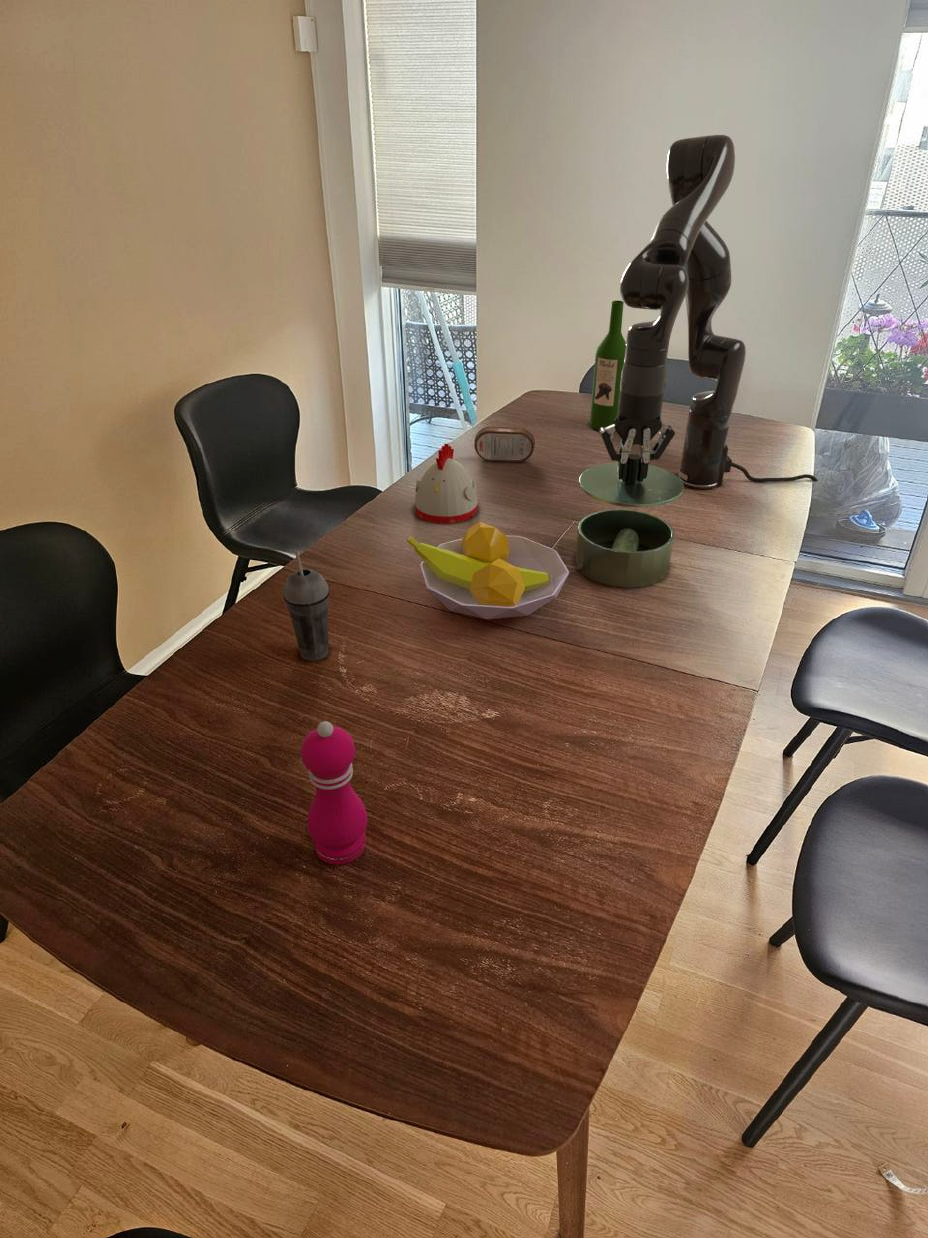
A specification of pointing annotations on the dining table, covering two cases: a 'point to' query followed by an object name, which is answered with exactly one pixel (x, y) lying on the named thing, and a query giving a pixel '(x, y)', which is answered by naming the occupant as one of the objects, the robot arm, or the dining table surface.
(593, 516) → the green open cylinder
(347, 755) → the pepper mill
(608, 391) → the wine bottle
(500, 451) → the tin
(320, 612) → the beverage cup
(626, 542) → the vegetable
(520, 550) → the fruit bowl
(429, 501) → the kitchen timer
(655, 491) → the lid
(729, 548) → the dining table surface
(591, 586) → the dining table surface
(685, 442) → the robot arm
